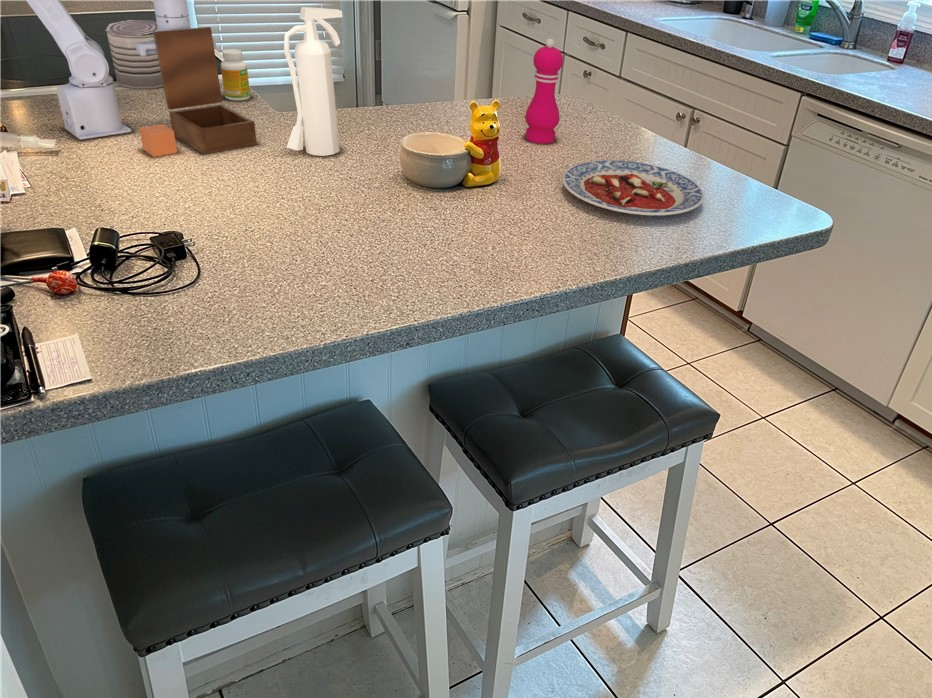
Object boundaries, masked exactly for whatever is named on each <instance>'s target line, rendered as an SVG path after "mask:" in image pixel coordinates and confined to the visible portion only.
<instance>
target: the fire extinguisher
mask: <svg viewBox="0 0 932 698" xmlns="http://www.w3.org/2000/svg"><path fill="white" fill-rule="evenodd" d="M339 18H343V11H342V10H340V9H338V8H325V7H309V6H301V7H300V13H299V19H300V20H302V21H303V24H300V25H294V26H293V27H292V28H290V29H289V30H288V31H286V32H285V33H284V37H283V38H284V39H283V41H284V42H283V44H284V45H283V52H284V55H285V58H286V63H287V65H288V68H289V72H290V76H291V77H290V78H291V82H292V89H293V94H294V100H295V105H296V111H297V117H296V123H295V125H294V126H293V127H292V130H291V133H290V136H289V139H288V142H287V144H286V148H287V149H290V150H294V151H303V149H304V147H305V152H306V153H307V154H309V155H311V156H318V157H319V156H321V157H325V156H331V155H335V154H337V153H340V150H341V149H340V139H339V130H338V118H337V106H336V96H335V95H336V94H335V86H334V75H333V65H332V53H331V52H332V51H331V48H330V46H329V44H328V42H326V41H324V40H322V39H320V37H319V33H318V30H317V25H316V22H317V23H318V24H320V25H321V26H322V27H323V29H324V30H325V31H326V32H327V34H328V36H329V38H330V40H331V42H332V45H333V46H335V47H338V46H339V45H340V44H341V40H340V37H339V35H338V32H337V31H336V30H335V28H334V27H333V26H332V25H331V24H330V23H328V22H327V21H326V19H339ZM324 19H325V20H324ZM315 21H316V22H315ZM298 32H300V33H301V32H303V39H301V40H300V41H298V42H296V43H295V47H294V60H295V64H294V60H293V58H292V55H291V52H290V51H291V49H290V43H291V42H290V41H291V40H290V38H291V37H292V36H294V35H295V34H296V33H298ZM304 145H305V146H304Z"/></svg>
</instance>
